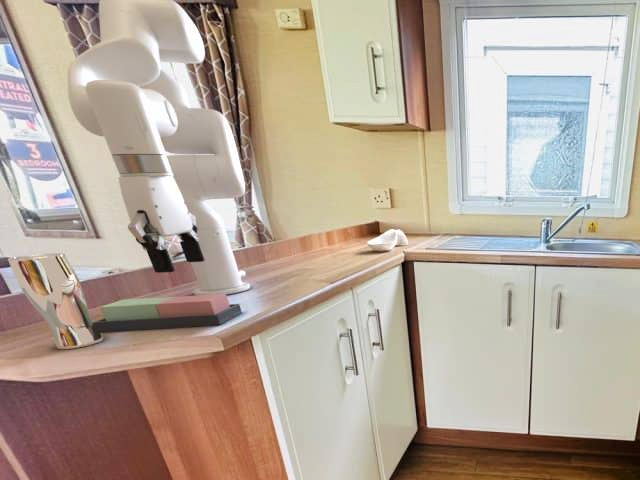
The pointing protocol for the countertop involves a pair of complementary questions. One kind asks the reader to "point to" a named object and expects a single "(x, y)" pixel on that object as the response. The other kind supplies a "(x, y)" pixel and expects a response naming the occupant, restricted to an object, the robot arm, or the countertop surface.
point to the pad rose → (193, 305)
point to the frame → (168, 321)
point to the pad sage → (133, 309)
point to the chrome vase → (56, 298)
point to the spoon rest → (388, 240)
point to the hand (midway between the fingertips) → (181, 266)
